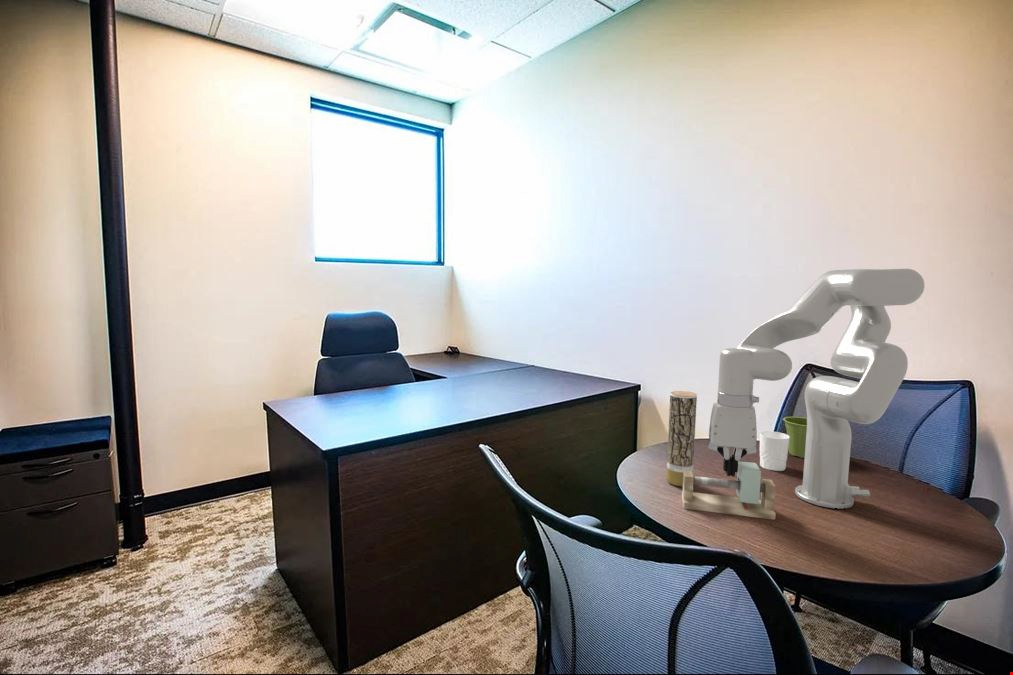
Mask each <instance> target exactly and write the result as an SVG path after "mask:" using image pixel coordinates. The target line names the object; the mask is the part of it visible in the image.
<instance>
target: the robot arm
mask: <svg viewBox="0 0 1013 675" xmlns="http://www.w3.org/2000/svg"><path fill="white" fill-rule="evenodd" d="M924 290H925V281H924V278H923V276H922V275H921V274H920V272H918V271H916V270H915V269H911V268H886V269H880V268H879V269H876V268H875V269H874V268H873V269H870V268H859V269H858V268H857V269H835V270H833V269H832V270H829V271H826V272H824V273H822V274H821V275H820V276H819V277H818V278H817V279H816V280H815V281H813V283H812V284H811V285H810V286H809V287H808V288H807V290H805V291H804V293H803V294H802V295H801V296H800V297H799V298H798V299H797V300H796V301H795V302H794V303H793V305H791V306H790V307H789V308H788V309H787V310H786V311H784V312H782V313H780V314H778V315H776V316H774V317H773V318H771V319H768V320H767V321H765V322H763V323H762V324H760V325H758V326H757V327H756V328H755V329H753V330H752V331H751V332H750V333H749V334H748V335H746V336H745V337H744V339H743V340H742V341H741V342H740V343H739V344H738V346H736V347H729V348H724V349H722V350H721V351H720V354H719V368H718V369H719V370H718V385H717V386H718V387H717V402H714V403H713V404H712V408H711V413H710V417H709V426H708V427H709V428H708V429H709V430H708V439H709V440H708V442H707V448H708V449H709V450H712V451H715V452H718V453H719V454H720V455H721V456H722V457H723V464H722V465H723V472H725V473H726V475H727V477H734V478H735V477H736V473H737V472H738V461H740V460H741V459H742V458H743V457H745V456H746V455H751V454H756V453H757V451H758V450H757V447H756V446H757V438H758V436H757V435H758V434H757V432H758V430H757V414H756V413H757V412H756V408H755V406H754V404H756V403H759V402H760V397H759V396H756V395H754V381H755V380H761V381H762V380H763V381H770V382H773V381H774V382H776V381H780V380H783V379H785V378H787V377H788V376H789V374H790V373H791V372H792V369H793V362H792V359H791V357H790V356H789V355H788V354H787V353H786V352H785V351H782V350H780V349H775V348H776V347H778V346H780V345H783V344H785V343H787V342H791V341H794V340H799V339H800V340H801V339H804V338H807V337H811V336H814V335H816V334H819V333H820V332H821V331H822V330H823V329H824V327H825V326H827V324H829V322H830V321H831V320H832V319H833V318H834V316H836V315H837V313H838V312H840V310H841V309H842V308H843V307H844V306H850V311H851V312H850V313H851V317H850V321H849V323H848V326H847V328H846V329H845V331H844V333H843V334H842V337H841V338H840V340H839V342H838V343H837V345H836V346H835V349H834V350H833V353H832V355H831V357H830V367H831V368H832V369H833V370H834V371H835V372H836V373H838V374H840V375H842V376H846V377H849V378H855V379H860V380H859V381H856V380H855V381H854V380H851V379H847V378H842V377H839V376H838V377H837V376H831V375H820V376H816V377H814V378H812V379H811V380H810V381H809V382H808V383H807V385H806V386H805V390H804V402H805V403H804V404H805V408H806V409H805V410H806V418H807V433H806V446H805V458H803V460H804V462H803V477H802V484H801V485H797V486H796V487H795V489H794V494H795V495H796V496H797V497H798V498H799V499H801V500H802V501H804V502H807V503H808V504H809V503H810V504H812V505H814V506H819V507H824V508H829V509H835V508H837V509H838V510H839V509H840V510H841V509H842V510H844V508H845V509H848V508H852V507H853V506H854V503H855V502H854V498H856V497H859V498H862V499H864V498H865V499H870V497H871V491H870V490H869V489H861V488H860V487H859V486H855V485H854V486H851V485H850V484H849V482H848V481H849V473H850V472H849V470H850V458H851V448H852V446H851V445H852V435H853V434H852V429H851V425H850V423H849V422H853V423H856V424H861V425H870V424H873V423H876V422H877V421H878V420H879V419H881V417H883V415H884V413H885V412H886V411H887V409H888V407H889V405H890V403H891V402H892V400H893V398H894V397H895V395H896V393H897V392H898V389H899V387H900V386H901V385H902V383H903V381H904V378H905V376H906V374H907V370H908V367H909V366H908V364H909V363H908V362H909V361H908V356H907V354H906V352H905V351H904V350H903V349H902V348H901V347H900V346H898V345H896V344H894V343H893V344H892V343H888V342H886V341H887V339H888V337H889V335H890V332H891V328H892V322H891V319H890V316H889V314H888V312H887V310H886V308H885V307H886V306H888V307H889V306H892V307H893V306H906V305H911V304H912V303H915V302H916V301H917V300H918V299H920V298H921V296H922V295H923V293H924ZM730 448H731V449H733V453H732V454H731V456H730V450H729V449H730Z"/></svg>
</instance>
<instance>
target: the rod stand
mask: <svg viewBox="0 0 1013 675" xmlns="http://www.w3.org/2000/svg"><path fill="white" fill-rule="evenodd" d="M740 482H741V481H737V480H733V479H723V478H714V477H707V476H706V477H705V476H698V475H697V476H694V472H693V473H692V471H684V473H683V487H682V491H681V499H682V506H683V509H687V510H695V511H701V512H702V511H703V512H710V513H711V512H712V513H718V514H727V515H734V516H741V517H742V516H745V517H749V518H758V519H759V518H760V519H765V520H766V519H767V520H776V512H775V500H776V498H775V497H776V485H775V483H774V482H773V480H772V479H766V478H761V482H760V499H759V504H754V503H745V502H740V500H739V498H738V496H737V497H736V496H728V495H720V494H719V495H718V494H711V493H710V494H709V493H704V492H703V493H702V492H694V485H695V486H703V487H704V486H705V487H713V488H723V489H731V490H736V489H739V490H740Z"/></svg>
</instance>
